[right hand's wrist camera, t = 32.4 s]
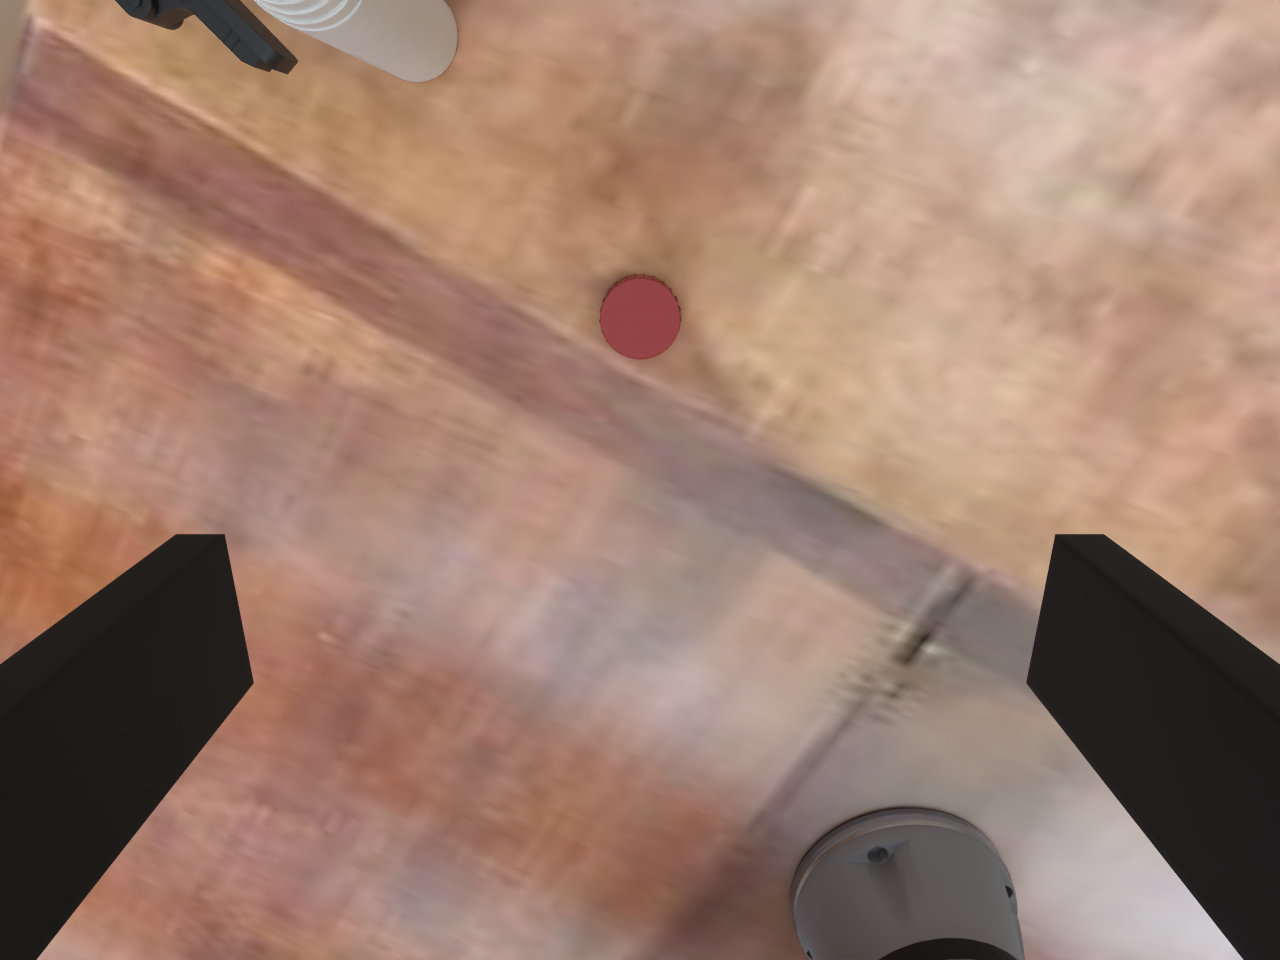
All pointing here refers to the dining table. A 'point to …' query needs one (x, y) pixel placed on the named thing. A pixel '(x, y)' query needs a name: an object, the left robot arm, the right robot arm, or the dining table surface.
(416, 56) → the bottle
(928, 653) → the dining table surface
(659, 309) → the cap
